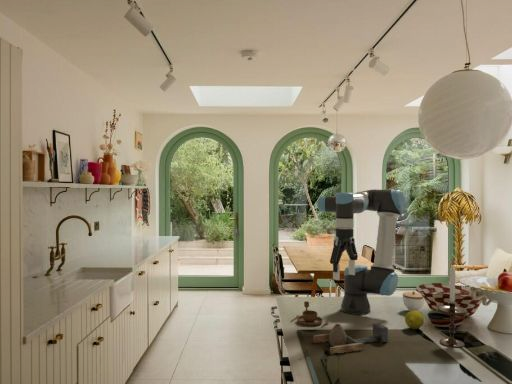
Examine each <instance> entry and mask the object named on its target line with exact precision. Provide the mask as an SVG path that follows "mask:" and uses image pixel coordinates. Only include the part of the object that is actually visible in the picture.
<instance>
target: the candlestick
mask: <svg viewBox="0 0 512 384" xmlns="http://www.w3.org/2000/svg"><path fill="white" fill-rule="evenodd" d="M454 264H455V261H454V258H451V268H450V269H449V300H448V301H446V303H448V304H447V305H445V304H444V305H439V306H437V311H438V312H439V313H441V314H443V315H448V316H450V317H449V319H450V322H449V324H448V326H447V327H448V328H449V330H448V333H449V337H448V338H445V337H444V338H440V339H439V344H440V345H442V346H445V347H447V348H453V349H455V348H456V349H460V348H464V347H465V343H464V342H463V341H461V340H460V339H455V334H456V331H455V329H456V328H457V327H456V324H455V317H456V316H467V315H468V310H467V309H466V308H465V307H461V306H457V304H459V303H458V302H457V301H456V269H455V266H454Z"/></svg>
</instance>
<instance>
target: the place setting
mask: <svg viewBox="0 0 512 384" xmlns="http://www.w3.org/2000/svg"><path fill="white" fill-rule="evenodd" d="M303 304H304V305H303V306H304V308H305V310H303V311H302V315H298V314H297V315H296V316H295V317H294V318H292V319H291V320H290V321H289V322H290V323H291V322H293V321H294V320H297V322H298V324H300V325H302V326H308V327H314V326H315V327H316V326H319V325H321V324H322V323H323V318H322V317H321V316H319V315H318V312H317V311H315V310H312V309H311V310H309V309H308V308H309V307H310V302H309V301H307V300H306V301H304V302H303ZM329 323H330V321H329V320H326V321H324V323H323V325H322V326H321V327H320V328H321V329H322V328H323V327H324V326H326V325H329Z"/></svg>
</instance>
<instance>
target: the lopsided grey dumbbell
mask: <svg viewBox="0 0 512 384" xmlns="http://www.w3.org/2000/svg"><path fill="white" fill-rule="evenodd" d="M388 334H389V327H388V326H385V325H383V324H382V323H378V322H377V323H372V336H367V337H359V338H352V337H351V336H350V335H348V334H346V337H347V341H346V344H354V343H361V342H362V343H363V344H367V343H366V342H370V343H374V342H373V341H377V342H379V341H380V342H386V343H388V342H389V335H388ZM380 342H379V343H380Z"/></svg>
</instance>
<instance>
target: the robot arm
mask: <svg viewBox="0 0 512 384" xmlns="http://www.w3.org/2000/svg"><path fill="white" fill-rule="evenodd" d="M316 204H317V205H316V206H317V210H318V211H319V212H322V213H335V237H336V238H337V239H338V240H336V239H334V240H333V247H332V251H331V256H330V259H329V263H330V264H331V265H332V280H335V281H340V279H341V277H340V273H341V271H340V268H341V266H340V261H341V259H342V257H343V256H342V255H343V253H344V252H345V251H346V253H347V256H348V257H349V259H348V266H347V267H345V268H344V275H343V276H344V278H343V282H344V283H343V286H344V290H343V291H344V293H343V294H344V295H343V298H342V301H341V303H340V311H342V312H343V313H346V314H351V315H367V314H369V313H371V304H370V301H369V299H368V293H369V294H373V295H380V296H388V297H389V296H392V295H393V294H394V293H395V291H396V290H397V287H398V284H399V277H398V276H399V275H398V273H396V272H395V268H394V266H393V257H394V249H395V240H396V231H397V230H396V229H397V223H398V222H397V220H398V219H399V218H401V213H404V212H405V210H406V209H407V208H406V205H407V204H406V198H405V194H404V192H403V191H402V190H400V189H393V188H392V189H374V188H373V189H367V190H362V191H358V192H355V193H353V192H337V193H336V195H329V196H327V195H323V196H320V197H319V198H318V199H317V202H316ZM365 211H371V212H376V214H377V216H378V217H379V219H378V220H379V221H378V226H377V227H378V229H377V236H376V237H377V238H376V245H375V247H376V248H375V252H374V253H375V255H374V263H372V265H370V269H368V266H367V265H360V264H359V265H356V261H357V260H358V257H359V256H358V252H357V247H356V242H355V238H354V214H361V213H363V212H365Z"/></svg>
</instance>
